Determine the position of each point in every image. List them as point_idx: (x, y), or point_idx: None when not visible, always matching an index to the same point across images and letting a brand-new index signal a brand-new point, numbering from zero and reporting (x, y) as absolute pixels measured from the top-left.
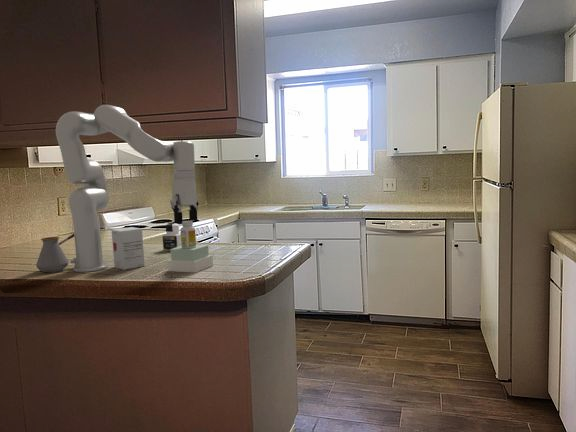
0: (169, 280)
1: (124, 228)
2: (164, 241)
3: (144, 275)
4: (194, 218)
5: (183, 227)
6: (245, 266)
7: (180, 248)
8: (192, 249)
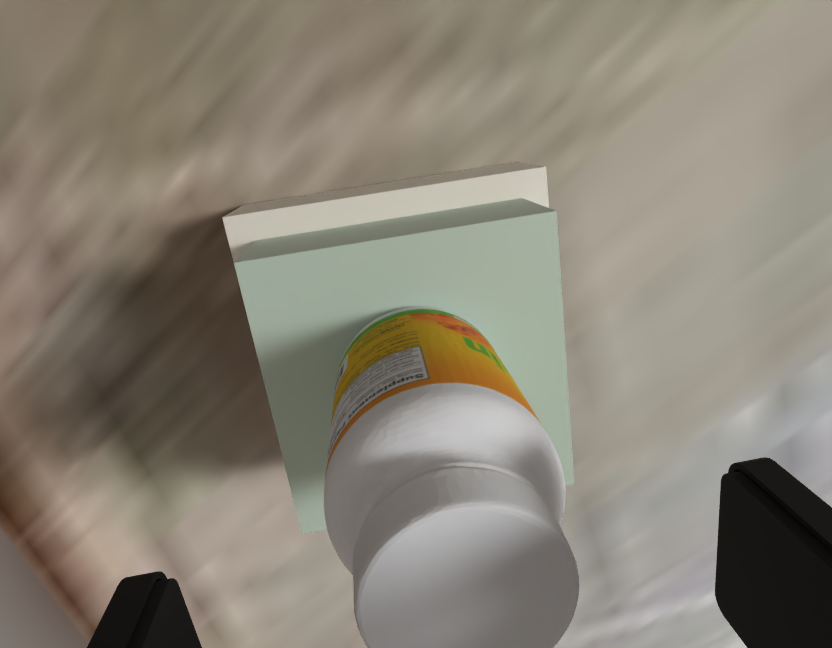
0: (25, 453)
1: None
2: None
3: (17, 128)
4: (737, 596)
5: (363, 516)
6: (577, 606)
7: (321, 343)
8: (320, 506)
